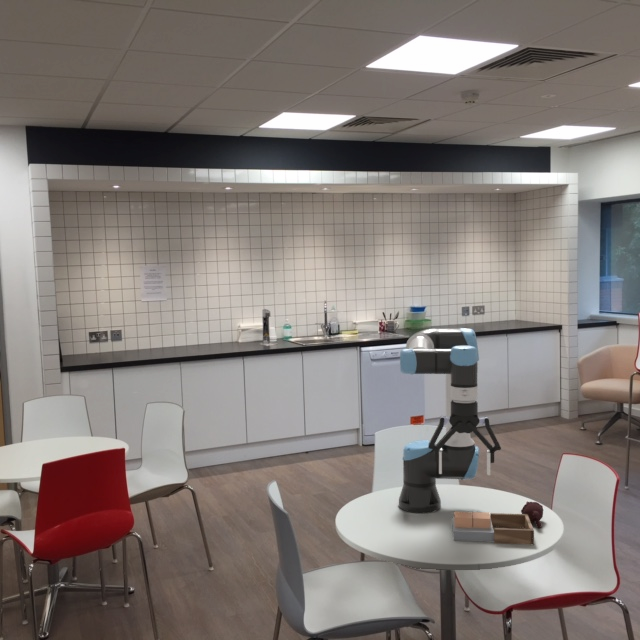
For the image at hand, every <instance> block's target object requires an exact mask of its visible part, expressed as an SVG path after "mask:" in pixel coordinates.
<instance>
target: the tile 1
mask: <svg viewBox="0 0 640 640" xmlns="http://www.w3.org/2000/svg"><path fill="white" fill-rule="evenodd" d="M453 513H454V514H453V517H454V523H455V527H460V528H472V512H471V511H454V512H453Z"/></svg>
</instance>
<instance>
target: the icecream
mask: <svg viewBox="0 0 640 640" xmlns="http://www.w3.org/2000/svg"><path fill="white" fill-rule="evenodd" d="M543 507H544V506H543V505H542V504H540V503H539V502H538V501H526V503H525V504H524V505H523V506H522V509H521V510H520V514H528V517H529V519H530V522H531V523H535V525H536V527H537V528H538V529H541V528H542V526H543V525H542V522H541V519H542V518H543V515H544V508H543Z"/></svg>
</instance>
